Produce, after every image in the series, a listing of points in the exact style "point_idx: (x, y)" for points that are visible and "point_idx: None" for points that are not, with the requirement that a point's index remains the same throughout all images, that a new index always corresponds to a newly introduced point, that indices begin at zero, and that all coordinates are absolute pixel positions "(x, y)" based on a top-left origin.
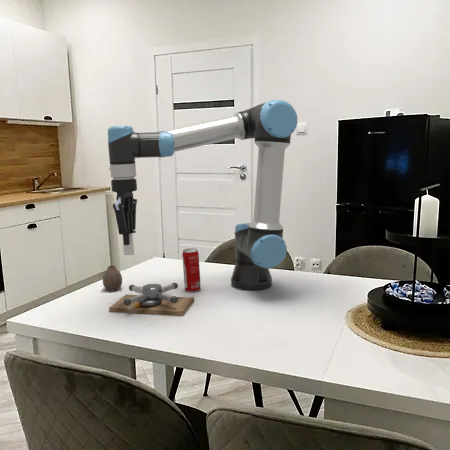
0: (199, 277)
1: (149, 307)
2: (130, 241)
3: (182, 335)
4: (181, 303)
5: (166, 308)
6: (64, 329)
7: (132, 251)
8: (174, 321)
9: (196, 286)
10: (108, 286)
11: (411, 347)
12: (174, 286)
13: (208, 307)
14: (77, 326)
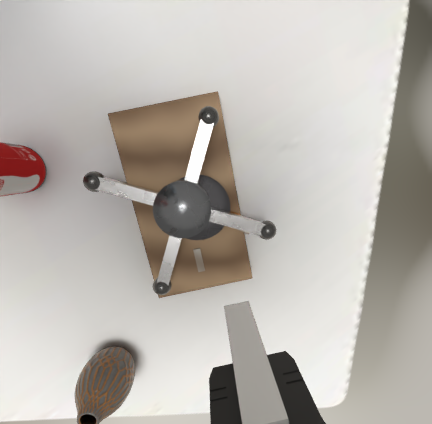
0: None
1: None
2: (270, 365)
3: (323, 37)
4: (165, 125)
5: (212, 145)
6: (354, 292)
7: (243, 313)
8: (253, 99)
9: (22, 147)
10: (134, 366)
11: None
12: (103, 177)
13: (135, 57)
14: (336, 280)
